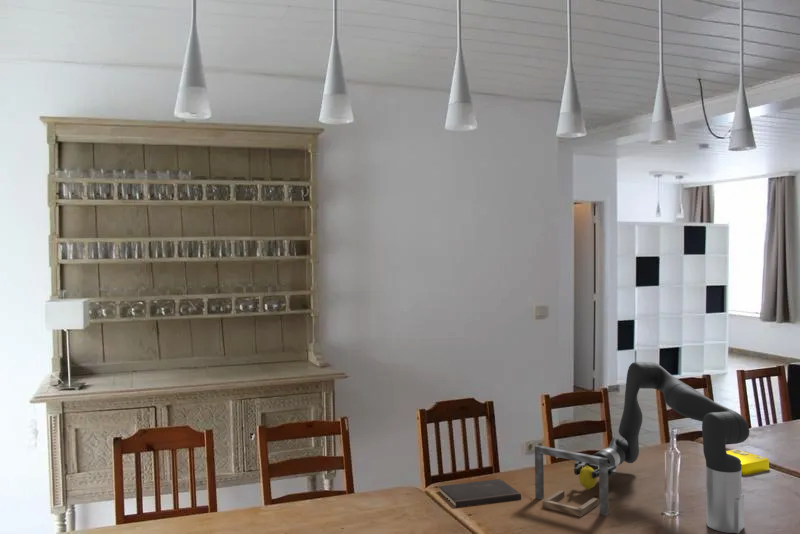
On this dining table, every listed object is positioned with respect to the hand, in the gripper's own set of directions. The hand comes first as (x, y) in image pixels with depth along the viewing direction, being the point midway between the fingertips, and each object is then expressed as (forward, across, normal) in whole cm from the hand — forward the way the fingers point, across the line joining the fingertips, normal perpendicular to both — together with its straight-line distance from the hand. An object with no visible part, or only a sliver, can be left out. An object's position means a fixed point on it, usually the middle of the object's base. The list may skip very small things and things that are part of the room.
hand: (584, 473), depth 214 cm
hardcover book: (+20, -28, +8) cm, 36 cm away
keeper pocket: (+10, 0, +8) cm, 13 cm away
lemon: (-3, 0, +6) cm, 7 cm away
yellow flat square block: (-65, +32, +9) cm, 73 cm away
